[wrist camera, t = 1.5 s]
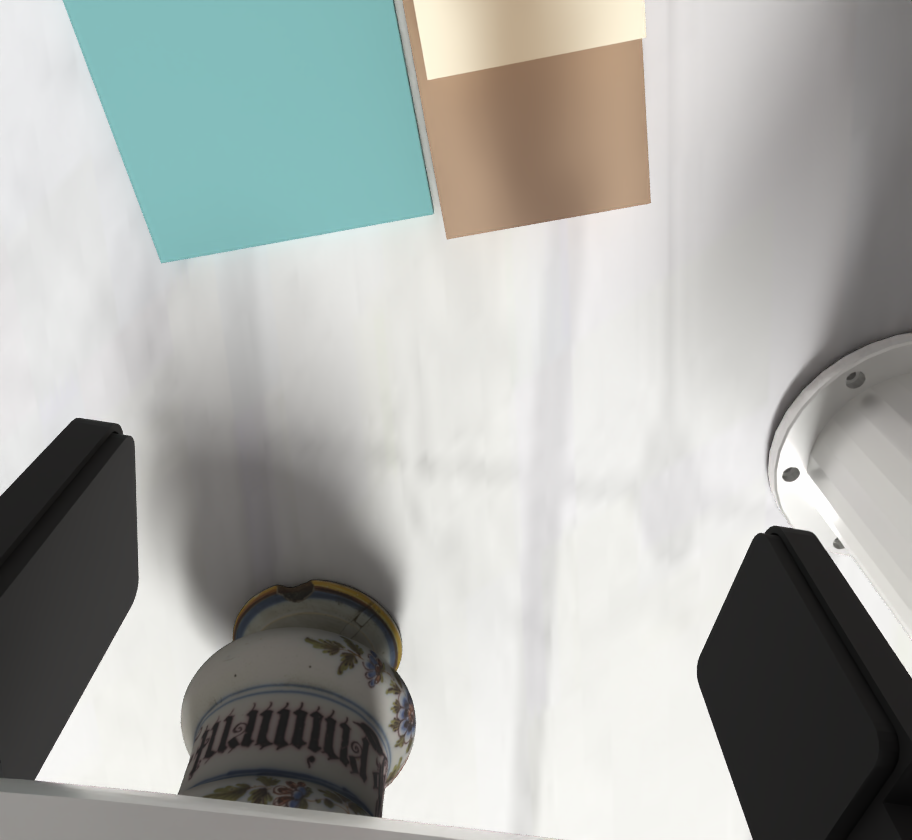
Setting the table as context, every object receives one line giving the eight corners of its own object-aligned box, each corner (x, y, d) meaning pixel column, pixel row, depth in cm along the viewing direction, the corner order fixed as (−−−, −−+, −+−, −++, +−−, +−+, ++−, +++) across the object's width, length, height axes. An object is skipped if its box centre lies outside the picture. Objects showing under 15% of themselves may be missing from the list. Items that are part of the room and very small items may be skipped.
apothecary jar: (381, 541, 41) (335, 879, 25) (445, 691, 46) (440, 1045, 31) (177, 589, 42) (14, 936, 27) (262, 729, 48) (169, 1084, 32)
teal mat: (355, -200, 26) (353, -204, 25) (433, 210, 32) (433, 214, 32) (23, -124, 27) (15, -127, 26) (165, 259, 33) (161, 263, 33)
